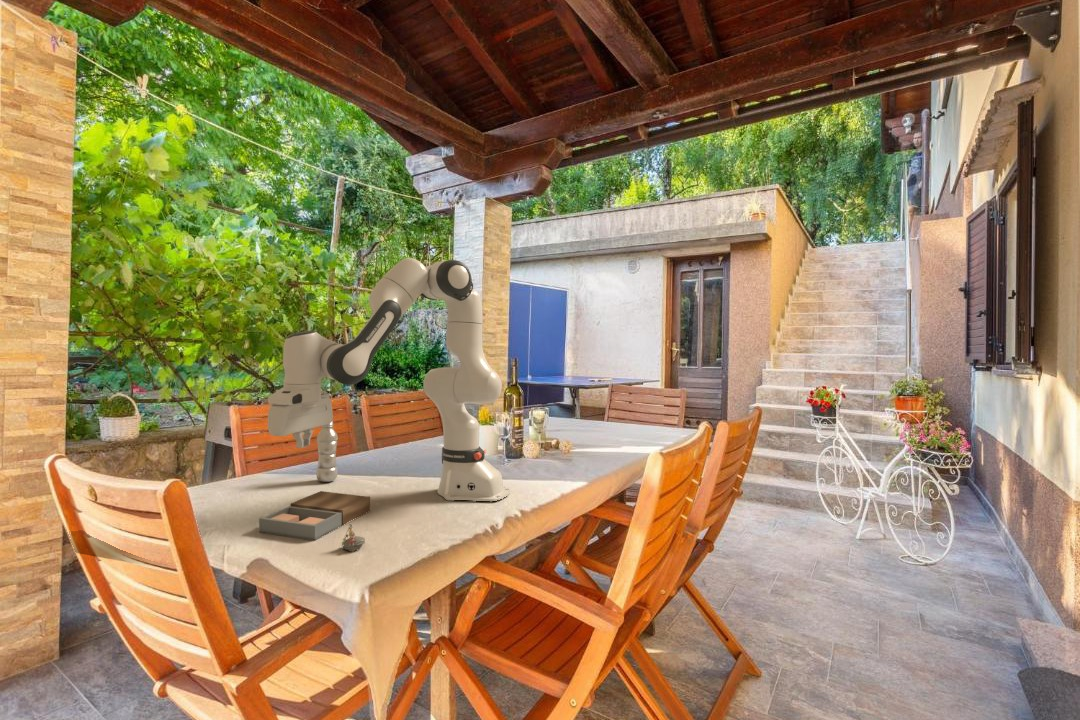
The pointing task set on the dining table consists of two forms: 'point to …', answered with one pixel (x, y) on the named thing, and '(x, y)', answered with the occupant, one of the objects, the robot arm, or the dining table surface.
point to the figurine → (352, 541)
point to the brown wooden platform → (336, 504)
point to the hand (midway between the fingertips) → (303, 447)
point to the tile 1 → (287, 517)
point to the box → (300, 529)
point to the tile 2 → (311, 520)
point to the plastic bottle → (327, 453)
